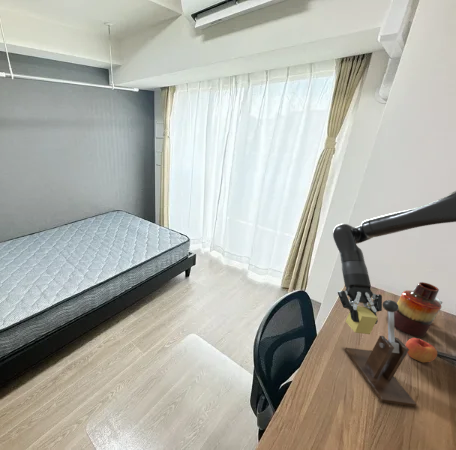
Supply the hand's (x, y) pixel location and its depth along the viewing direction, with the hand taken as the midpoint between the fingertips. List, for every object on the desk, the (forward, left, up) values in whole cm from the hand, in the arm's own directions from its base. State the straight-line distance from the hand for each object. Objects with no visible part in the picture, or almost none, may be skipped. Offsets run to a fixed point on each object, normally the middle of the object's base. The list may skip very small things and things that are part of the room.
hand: (365, 322), depth 85 cm
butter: (+1, -2, -4) cm, 5 cm away
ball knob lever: (-3, +6, +6) cm, 9 cm away
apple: (-18, -8, -12) cm, 23 cm away
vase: (-18, -26, -12) cm, 34 cm away
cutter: (-5, +10, -11) cm, 16 cm away
